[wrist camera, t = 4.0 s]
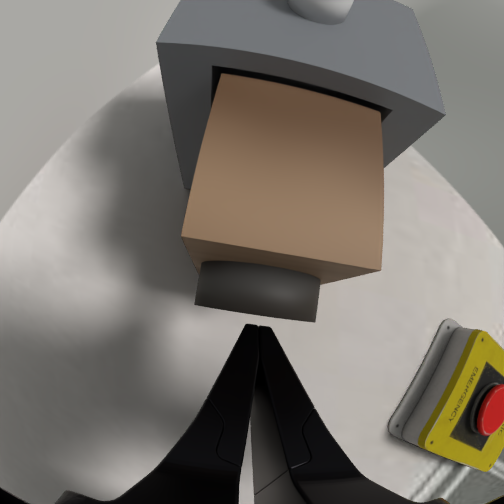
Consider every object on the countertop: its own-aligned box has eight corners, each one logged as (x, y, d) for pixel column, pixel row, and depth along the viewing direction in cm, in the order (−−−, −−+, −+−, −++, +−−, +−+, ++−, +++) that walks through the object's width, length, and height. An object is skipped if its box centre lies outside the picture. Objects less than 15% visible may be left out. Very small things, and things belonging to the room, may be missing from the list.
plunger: (285, 318, 17) (374, 329, 7) (195, 304, 16) (169, 301, 7) (300, 206, 18) (380, 112, 8) (215, 191, 18) (221, 73, 8)
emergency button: (482, 311, 15) (550, 387, 15) (441, 313, 19) (518, 383, 19) (414, 450, 13) (504, 481, 13) (379, 428, 17) (475, 468, 17)
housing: (328, 214, 19) (467, 95, 6) (184, 188, 18) (151, 10, 6) (333, 128, 20) (423, -8, 8) (207, 102, 19) (212, -65, 7)
